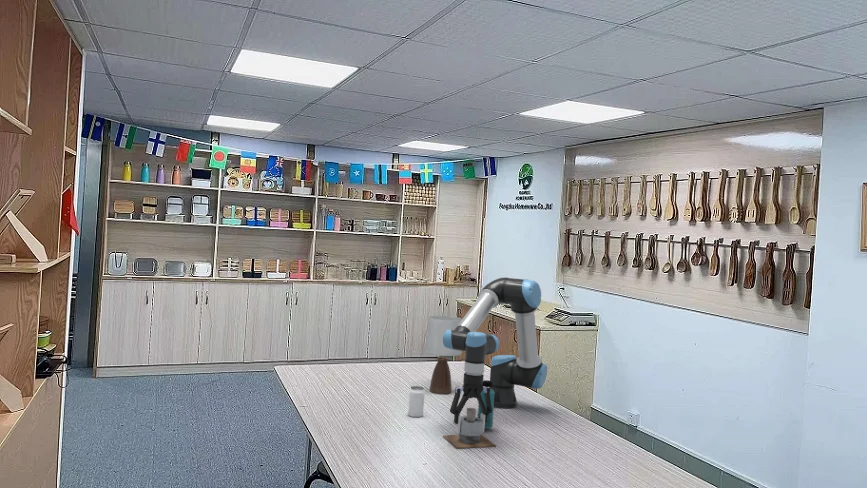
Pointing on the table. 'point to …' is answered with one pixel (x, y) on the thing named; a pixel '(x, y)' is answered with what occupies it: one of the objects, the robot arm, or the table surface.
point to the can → (416, 401)
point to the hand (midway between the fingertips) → (469, 431)
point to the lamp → (440, 352)
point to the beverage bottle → (490, 416)
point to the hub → (471, 427)
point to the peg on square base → (469, 441)
